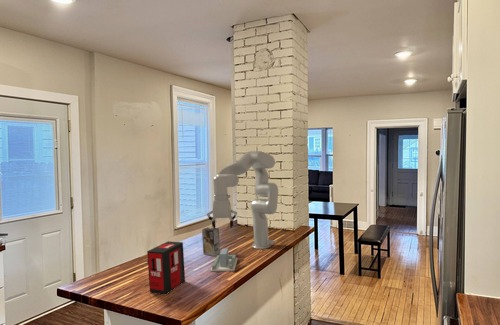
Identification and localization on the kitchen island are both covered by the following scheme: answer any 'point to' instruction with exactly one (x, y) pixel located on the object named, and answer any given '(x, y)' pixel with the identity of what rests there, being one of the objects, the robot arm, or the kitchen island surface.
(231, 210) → the robot arm
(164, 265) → the cleaning product box
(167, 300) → the kitchen island surface
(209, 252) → the coffee box
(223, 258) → the pale grey cuboid block
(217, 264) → the grey tray
